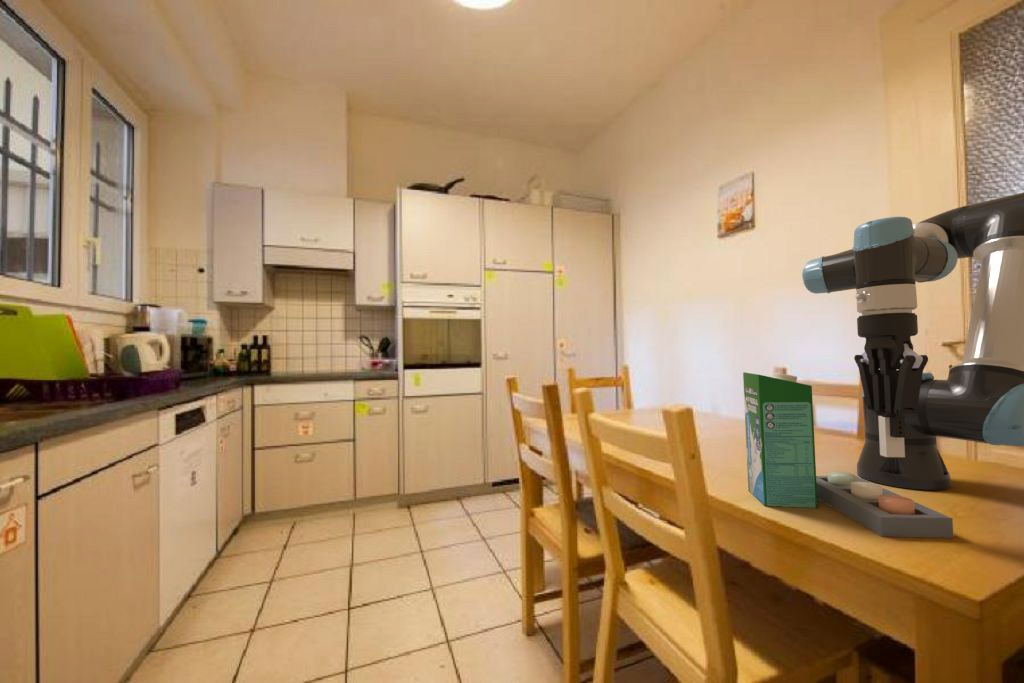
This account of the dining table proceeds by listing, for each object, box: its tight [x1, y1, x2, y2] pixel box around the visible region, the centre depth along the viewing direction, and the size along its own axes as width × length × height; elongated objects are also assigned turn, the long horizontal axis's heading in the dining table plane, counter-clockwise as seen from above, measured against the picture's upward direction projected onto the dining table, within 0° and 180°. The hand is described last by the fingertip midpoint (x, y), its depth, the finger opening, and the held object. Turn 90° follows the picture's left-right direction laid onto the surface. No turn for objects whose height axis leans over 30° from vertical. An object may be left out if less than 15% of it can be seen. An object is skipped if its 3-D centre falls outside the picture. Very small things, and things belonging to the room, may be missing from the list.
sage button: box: [827, 470, 856, 486], centre depth 84 cm, size 4×4×3 cm
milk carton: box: [742, 371, 819, 509], centre depth 84 cm, size 9×9×25 cm
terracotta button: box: [878, 495, 915, 515], centre depth 70 cm, size 4×4×3 cm
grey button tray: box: [816, 475, 954, 539], centre depth 77 cm, size 22×10×3 cm, turn 173°
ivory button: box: [851, 482, 883, 499], centre depth 77 cm, size 4×4×3 cm
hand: (892, 456), depth 70 cm, fingers closed
